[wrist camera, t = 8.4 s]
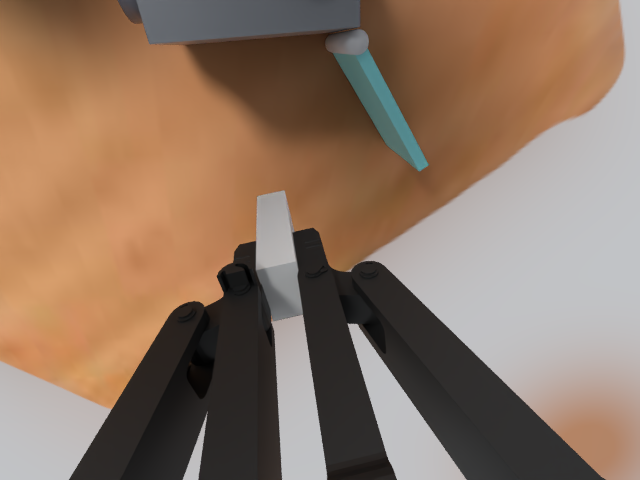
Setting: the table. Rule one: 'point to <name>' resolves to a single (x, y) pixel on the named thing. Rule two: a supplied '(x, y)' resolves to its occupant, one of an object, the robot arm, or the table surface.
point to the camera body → (238, 19)
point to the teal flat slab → (374, 94)
